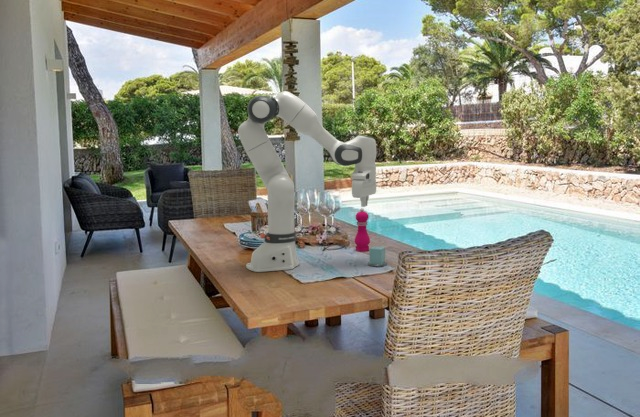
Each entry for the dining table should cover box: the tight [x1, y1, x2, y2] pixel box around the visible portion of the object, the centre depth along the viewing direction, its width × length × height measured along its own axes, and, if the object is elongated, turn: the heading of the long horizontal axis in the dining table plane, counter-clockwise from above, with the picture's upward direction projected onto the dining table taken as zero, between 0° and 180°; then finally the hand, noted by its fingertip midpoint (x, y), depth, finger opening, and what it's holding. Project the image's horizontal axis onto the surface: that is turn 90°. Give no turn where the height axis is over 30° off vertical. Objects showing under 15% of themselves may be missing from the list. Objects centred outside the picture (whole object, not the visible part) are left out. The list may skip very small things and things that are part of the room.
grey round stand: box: [367, 261, 388, 268], centre depth 249 cm, size 8×8×6 cm
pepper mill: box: [354, 207, 371, 253], centre depth 277 cm, size 7×7×20 cm
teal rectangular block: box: [368, 245, 386, 265], centre depth 249 cm, size 5×5×7 cm
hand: (364, 206), depth 251 cm, fingers closed
